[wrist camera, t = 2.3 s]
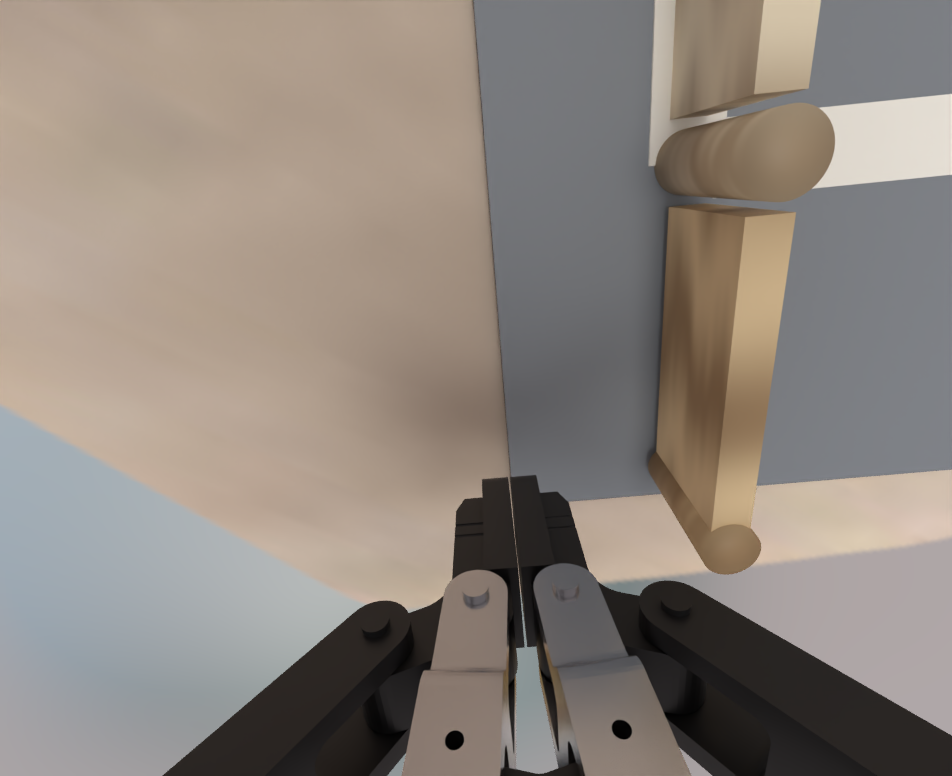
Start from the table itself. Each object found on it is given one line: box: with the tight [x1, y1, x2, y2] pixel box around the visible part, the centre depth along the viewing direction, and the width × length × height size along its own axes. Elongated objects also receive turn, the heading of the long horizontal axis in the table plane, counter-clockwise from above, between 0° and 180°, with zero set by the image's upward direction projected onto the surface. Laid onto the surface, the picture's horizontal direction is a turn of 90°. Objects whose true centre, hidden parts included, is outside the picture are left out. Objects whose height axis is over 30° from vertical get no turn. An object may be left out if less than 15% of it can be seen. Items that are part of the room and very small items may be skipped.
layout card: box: [473, 0, 952, 502], centre depth 16 cm, size 26×21×1 cm
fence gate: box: [648, 203, 796, 574], centre depth 16 cm, size 11×2×5 cm, turn 5°
